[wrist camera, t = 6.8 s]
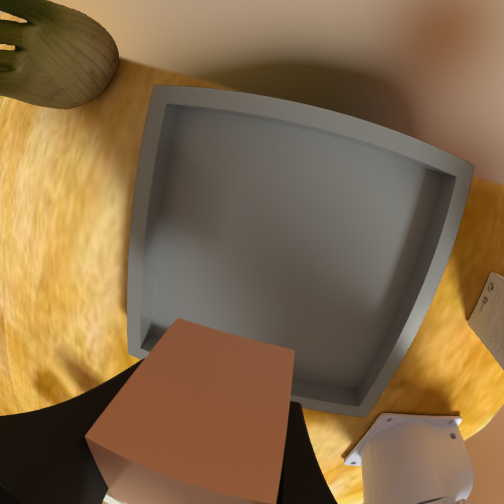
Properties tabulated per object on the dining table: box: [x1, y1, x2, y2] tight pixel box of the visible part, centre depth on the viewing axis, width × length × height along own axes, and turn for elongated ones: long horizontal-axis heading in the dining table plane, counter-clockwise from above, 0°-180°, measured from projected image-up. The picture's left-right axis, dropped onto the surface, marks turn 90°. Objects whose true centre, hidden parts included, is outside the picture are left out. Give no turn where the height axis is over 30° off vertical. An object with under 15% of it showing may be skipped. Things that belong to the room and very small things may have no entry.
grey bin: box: [127, 85, 474, 418], centre depth 16 cm, size 17×17×2 cm
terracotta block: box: [85, 318, 295, 504], centre depth 8 cm, size 4×4×6 cm
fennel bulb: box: [0, 0, 119, 109], centre depth 10 cm, size 6×5×12 cm
